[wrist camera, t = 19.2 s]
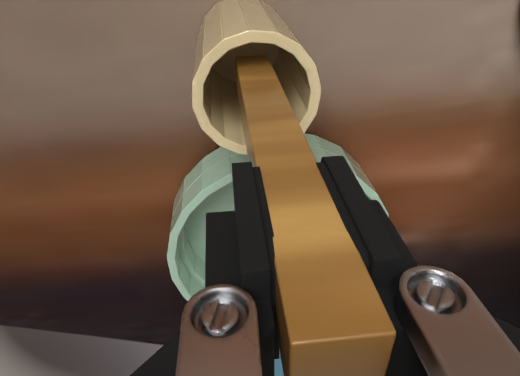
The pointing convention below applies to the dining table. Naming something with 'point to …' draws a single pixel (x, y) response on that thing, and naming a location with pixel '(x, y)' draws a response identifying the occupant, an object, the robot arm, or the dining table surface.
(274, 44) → the crock
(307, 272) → the stick
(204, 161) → the bowl
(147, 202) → the dining table surface
